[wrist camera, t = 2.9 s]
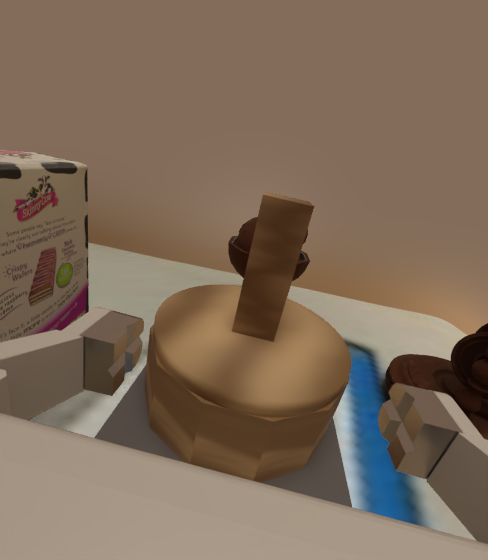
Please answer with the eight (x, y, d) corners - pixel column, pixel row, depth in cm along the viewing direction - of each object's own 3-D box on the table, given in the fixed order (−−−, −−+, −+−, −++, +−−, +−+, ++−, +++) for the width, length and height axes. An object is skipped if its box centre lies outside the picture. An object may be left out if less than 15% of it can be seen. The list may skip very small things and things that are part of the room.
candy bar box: (35, 340, 26) (21, 148, 20) (90, 350, 26) (93, 164, 20) (-106, 455, 16) (-222, 128, 10) (-12, 469, 16) (-68, 161, 10)
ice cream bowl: (261, 291, 48) (285, 202, 42) (305, 326, 39) (341, 221, 34) (204, 294, 42) (223, 191, 37) (241, 337, 34) (272, 212, 28)
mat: (82, 459, 17) (82, 454, 17) (177, 324, 33) (177, 320, 33) (354, 535, 17) (356, 530, 17) (318, 360, 33) (319, 357, 32)
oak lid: (105, 444, 18) (116, 171, 12) (182, 326, 32) (205, 173, 26) (339, 509, 17) (476, 255, 11) (313, 359, 32) (367, 211, 26)
